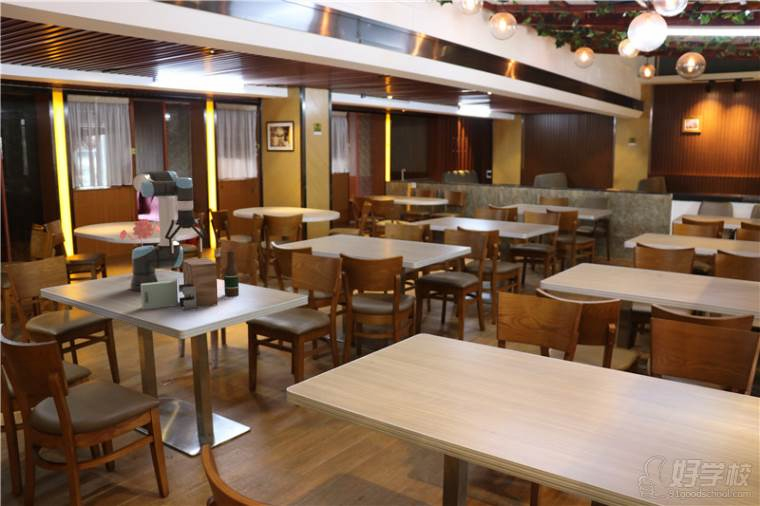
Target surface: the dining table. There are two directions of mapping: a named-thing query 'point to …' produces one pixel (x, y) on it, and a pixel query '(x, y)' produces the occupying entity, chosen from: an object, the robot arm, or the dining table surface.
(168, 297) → the door
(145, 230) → the red flower bouquet
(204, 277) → the cabinet
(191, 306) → the grey open frame
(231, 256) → the beer bottle
